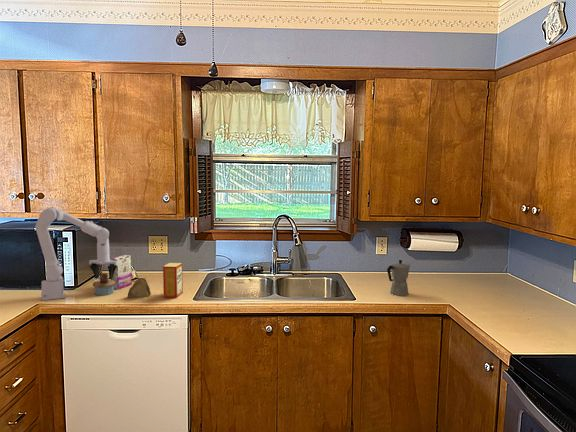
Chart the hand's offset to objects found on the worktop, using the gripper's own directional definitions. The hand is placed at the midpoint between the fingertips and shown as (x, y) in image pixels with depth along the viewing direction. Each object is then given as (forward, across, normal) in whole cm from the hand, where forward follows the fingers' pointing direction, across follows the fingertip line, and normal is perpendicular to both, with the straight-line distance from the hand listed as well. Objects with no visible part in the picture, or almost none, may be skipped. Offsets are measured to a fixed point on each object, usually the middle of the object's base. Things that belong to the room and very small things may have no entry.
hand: (104, 278), depth 212 cm
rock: (+8, +20, -2) cm, 21 cm away
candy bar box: (+8, +2, +13) cm, 16 cm away
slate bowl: (+8, 0, 0) cm, 8 cm away
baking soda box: (+8, +36, +2) cm, 37 cm away
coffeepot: (+8, +149, +24) cm, 151 cm away
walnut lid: (+3, 0, 0) cm, 3 cm away
